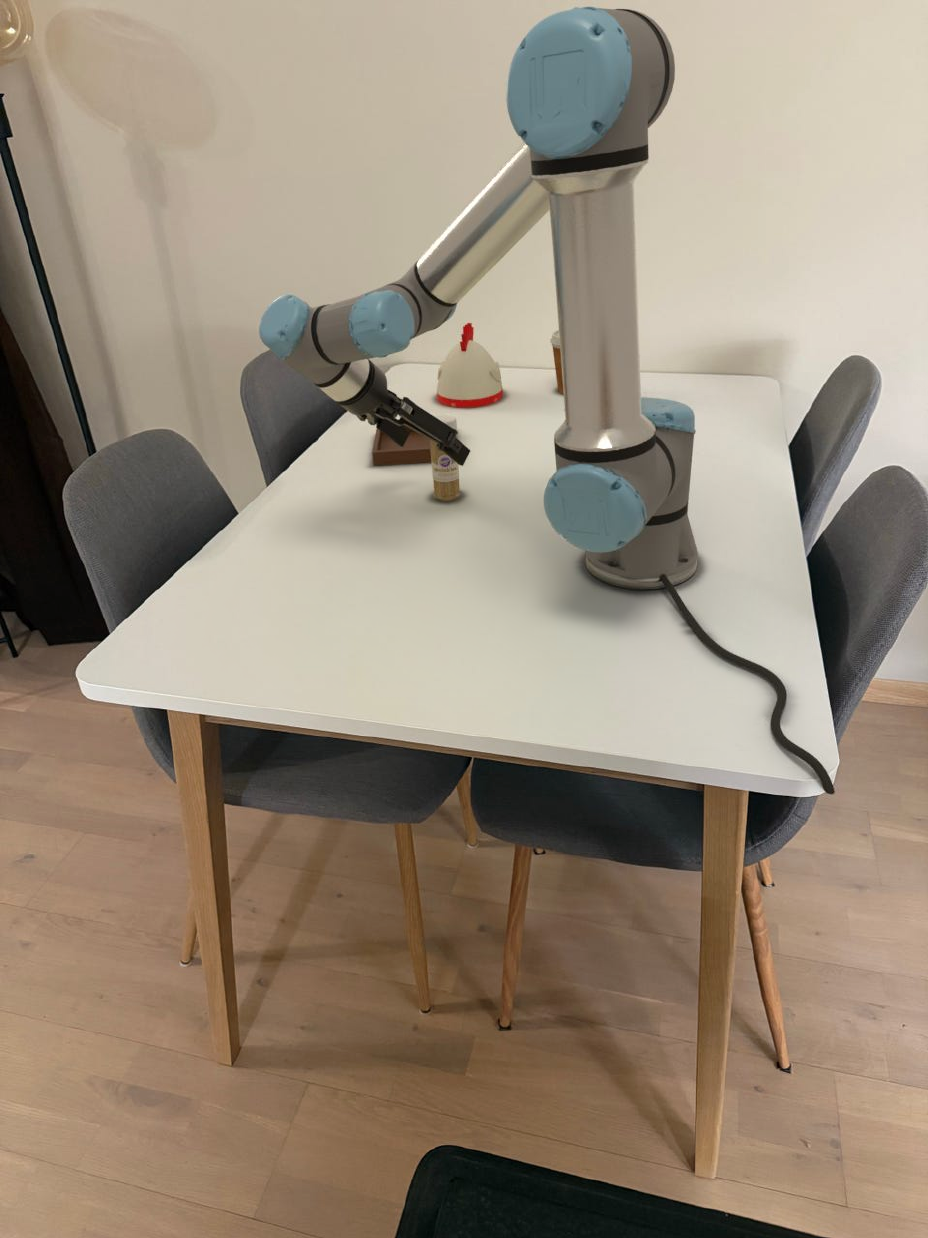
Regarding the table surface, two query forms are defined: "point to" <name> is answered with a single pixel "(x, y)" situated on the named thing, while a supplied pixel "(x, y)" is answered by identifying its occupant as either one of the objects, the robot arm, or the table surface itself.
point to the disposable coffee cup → (557, 360)
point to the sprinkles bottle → (445, 467)
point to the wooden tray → (401, 449)
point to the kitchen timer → (469, 375)
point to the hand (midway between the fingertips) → (434, 448)
